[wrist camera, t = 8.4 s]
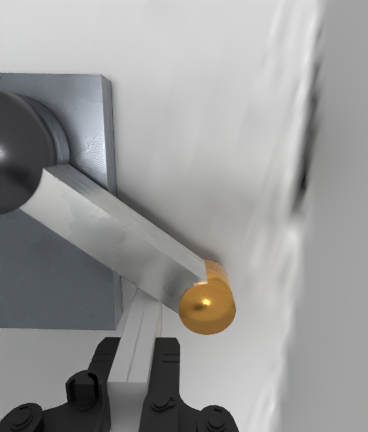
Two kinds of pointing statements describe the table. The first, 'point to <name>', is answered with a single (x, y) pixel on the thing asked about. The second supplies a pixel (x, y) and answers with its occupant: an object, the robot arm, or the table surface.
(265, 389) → the table surface
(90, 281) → the dark grey base plate
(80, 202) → the ball lever handle
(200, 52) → the table surface
